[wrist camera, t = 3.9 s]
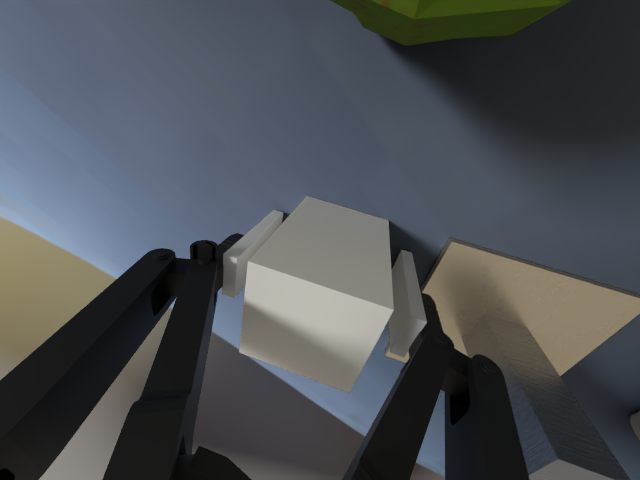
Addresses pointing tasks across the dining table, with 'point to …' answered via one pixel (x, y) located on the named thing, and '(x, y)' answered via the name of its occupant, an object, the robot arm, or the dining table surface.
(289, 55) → the dining table surface
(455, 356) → the robot arm
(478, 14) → the green apple
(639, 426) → the stone
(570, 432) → the square base with post
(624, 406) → the dining table surface
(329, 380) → the cream cuboid
